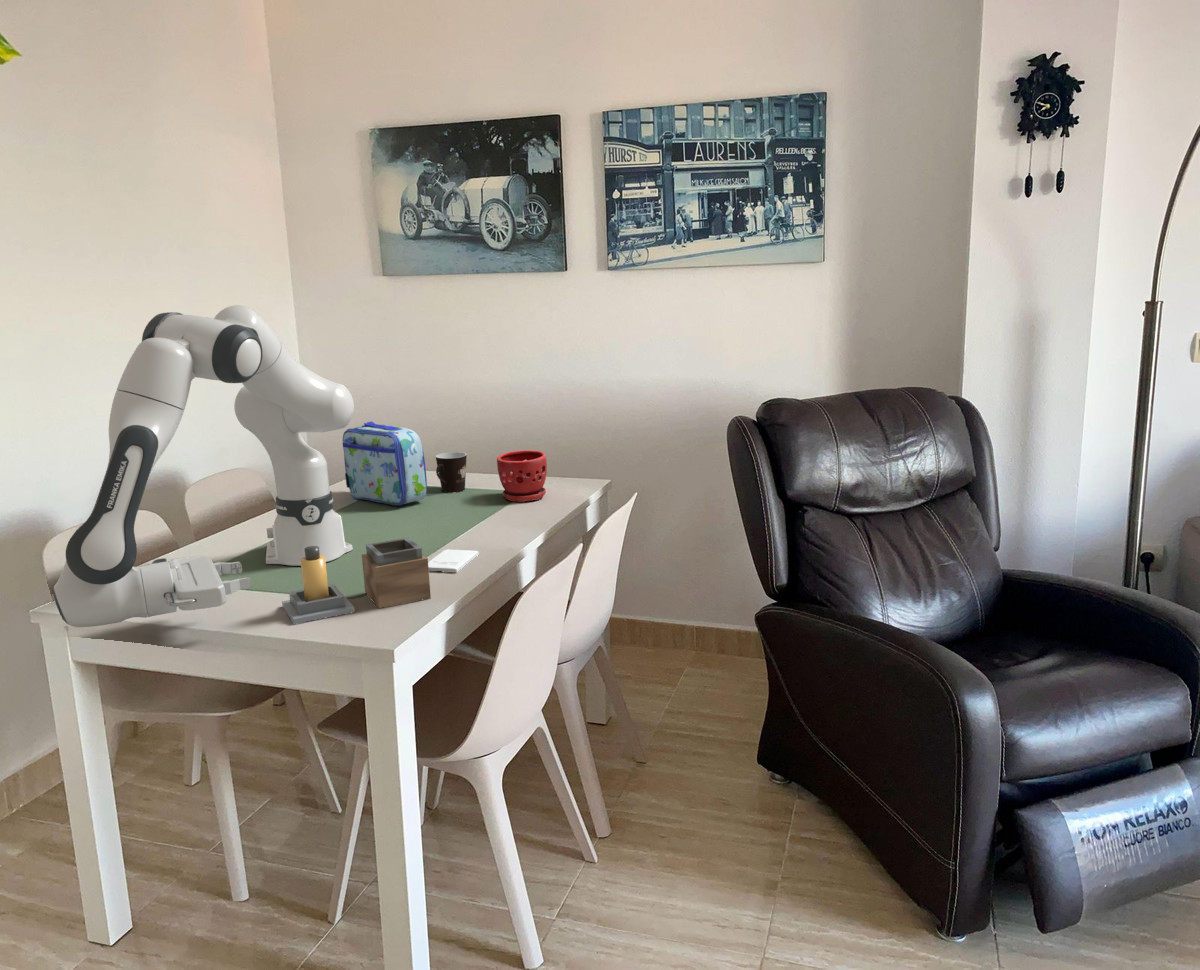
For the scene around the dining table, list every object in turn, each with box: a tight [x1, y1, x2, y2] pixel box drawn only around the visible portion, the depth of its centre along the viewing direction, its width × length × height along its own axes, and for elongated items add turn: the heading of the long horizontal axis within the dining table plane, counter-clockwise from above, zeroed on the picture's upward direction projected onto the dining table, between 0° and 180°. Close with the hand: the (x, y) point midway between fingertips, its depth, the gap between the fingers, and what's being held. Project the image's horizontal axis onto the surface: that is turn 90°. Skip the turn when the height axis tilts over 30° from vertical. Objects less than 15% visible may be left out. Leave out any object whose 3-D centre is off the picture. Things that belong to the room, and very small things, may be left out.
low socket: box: [281, 583, 356, 625], centre depth 181 cm, size 11×11×3 cm
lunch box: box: [342, 421, 428, 507], centre depth 260 cm, size 26×11×21 cm, turn 49°
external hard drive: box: [428, 548, 480, 573], centre depth 207 cm, size 2×8×12 cm
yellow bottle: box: [300, 546, 329, 602], centre depth 180 cm, size 4×4×11 cm
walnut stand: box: [361, 537, 432, 609], centre depth 186 cm, size 10×10×10 cm
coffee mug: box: [435, 451, 468, 494], centre depth 270 cm, size 12×9×10 cm
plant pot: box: [496, 449, 548, 503], centre depth 259 cm, size 13×13×12 cm
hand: (245, 573), depth 174 cm, fingers open, 8 cm apart
